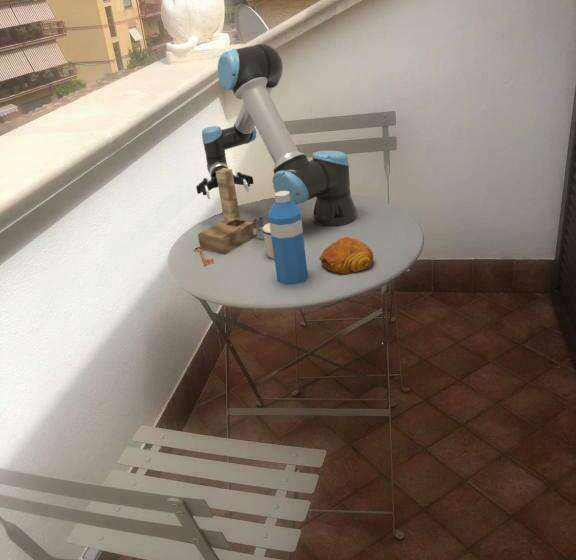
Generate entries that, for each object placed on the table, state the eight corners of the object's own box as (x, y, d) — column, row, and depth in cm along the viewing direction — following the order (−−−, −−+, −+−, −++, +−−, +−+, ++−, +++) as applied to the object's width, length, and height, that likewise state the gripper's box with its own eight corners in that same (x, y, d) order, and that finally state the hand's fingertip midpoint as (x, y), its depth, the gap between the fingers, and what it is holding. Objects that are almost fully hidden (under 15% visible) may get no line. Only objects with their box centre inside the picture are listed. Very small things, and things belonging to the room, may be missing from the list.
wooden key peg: (232, 221, 208) (223, 168, 199) (241, 223, 205) (232, 169, 196) (225, 225, 205) (215, 171, 196) (233, 227, 203) (224, 172, 194)
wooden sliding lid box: (232, 230, 200) (230, 216, 198) (256, 235, 194) (254, 220, 191) (200, 248, 189) (197, 233, 187) (224, 254, 183) (221, 238, 181)
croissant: (355, 255, 177) (352, 230, 174) (382, 267, 163) (379, 240, 160) (313, 266, 172) (309, 241, 170) (337, 280, 158) (333, 252, 156)
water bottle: (284, 287, 159) (272, 202, 147) (271, 275, 166) (259, 192, 155) (314, 278, 161) (305, 193, 150) (300, 266, 169) (291, 185, 158)
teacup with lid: (297, 257, 175) (292, 221, 170) (267, 261, 175) (262, 226, 169) (291, 241, 186) (287, 208, 180) (263, 246, 185) (258, 212, 180)
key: (217, 265, 178) (211, 247, 191) (217, 262, 178) (210, 244, 191) (199, 268, 177) (193, 249, 190) (198, 265, 176) (193, 246, 189)
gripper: (254, 178, 219) (264, 195, 201) (189, 190, 216) (193, 208, 197) (251, 159, 216) (261, 174, 197) (185, 171, 212) (189, 187, 194)
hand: (227, 191), depth 197 cm, fingers open, 13 cm apart
